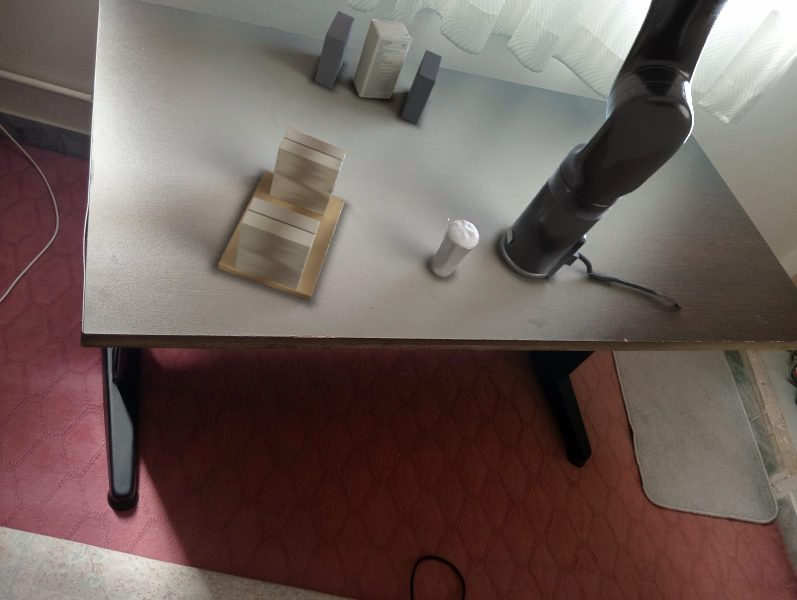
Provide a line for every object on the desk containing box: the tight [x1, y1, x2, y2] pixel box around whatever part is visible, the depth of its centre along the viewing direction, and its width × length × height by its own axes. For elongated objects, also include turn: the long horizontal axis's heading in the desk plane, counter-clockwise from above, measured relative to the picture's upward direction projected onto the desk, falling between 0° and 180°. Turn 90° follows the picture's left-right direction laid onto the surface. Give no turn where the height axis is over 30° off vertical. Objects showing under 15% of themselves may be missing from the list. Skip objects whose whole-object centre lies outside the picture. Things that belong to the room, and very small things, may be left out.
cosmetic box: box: [353, 18, 413, 100], centre depth 92 cm, size 6×4×12 cm
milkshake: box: [430, 217, 480, 278], centre depth 75 cm, size 4×5×10 cm
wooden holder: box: [217, 127, 348, 301], centre depth 69 cm, size 12×18×10 cm, turn 169°
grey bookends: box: [314, 10, 443, 125], centre depth 93 cm, size 19×8×9 cm, turn 79°
